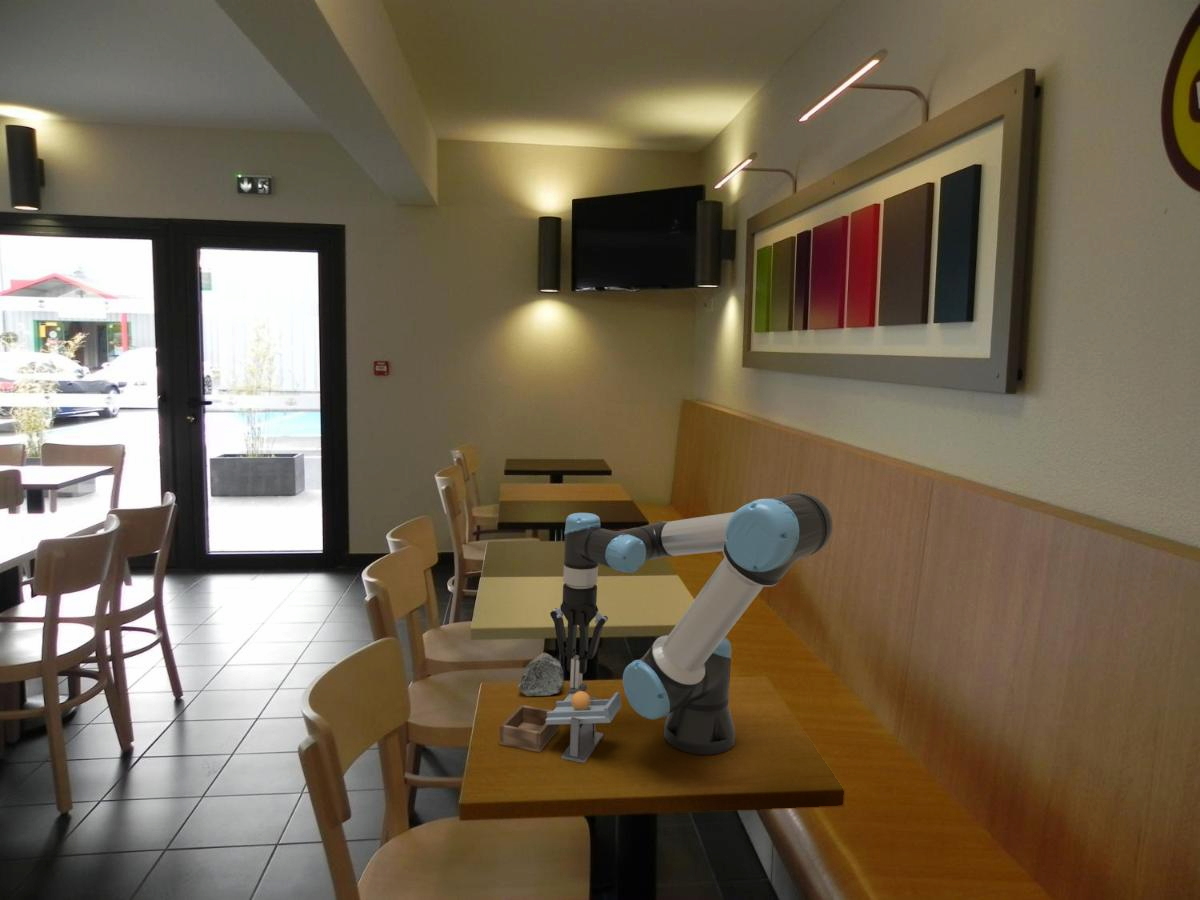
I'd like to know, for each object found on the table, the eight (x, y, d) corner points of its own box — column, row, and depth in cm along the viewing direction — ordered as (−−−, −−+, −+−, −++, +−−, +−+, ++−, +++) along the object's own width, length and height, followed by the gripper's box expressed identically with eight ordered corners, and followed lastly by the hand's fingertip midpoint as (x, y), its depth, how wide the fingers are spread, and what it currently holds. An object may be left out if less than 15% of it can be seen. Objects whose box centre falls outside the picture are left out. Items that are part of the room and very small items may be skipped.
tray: (558, 729, 171) (559, 711, 170) (539, 752, 161) (540, 733, 160) (520, 721, 173) (521, 704, 173) (499, 744, 163) (500, 726, 163)
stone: (541, 658, 183) (552, 642, 193) (510, 681, 185) (522, 664, 195) (567, 691, 183) (576, 673, 193) (535, 713, 185) (545, 694, 195)
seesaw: (634, 687, 173) (632, 674, 173) (609, 723, 156) (606, 709, 156) (572, 690, 178) (570, 677, 178) (542, 725, 161) (539, 711, 160)
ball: (588, 685, 163) (572, 691, 165) (581, 693, 160) (565, 699, 161) (596, 703, 163) (580, 708, 165) (590, 711, 160) (573, 717, 161)
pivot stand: (603, 735, 168) (604, 697, 167) (584, 763, 157) (585, 722, 156) (581, 731, 170) (582, 694, 169) (561, 758, 158) (562, 718, 157)
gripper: (614, 583, 173) (609, 684, 176) (557, 575, 177) (554, 673, 181) (604, 592, 166) (599, 697, 169) (545, 584, 170) (541, 687, 173)
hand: (576, 685), depth 175 cm, fingers closed
